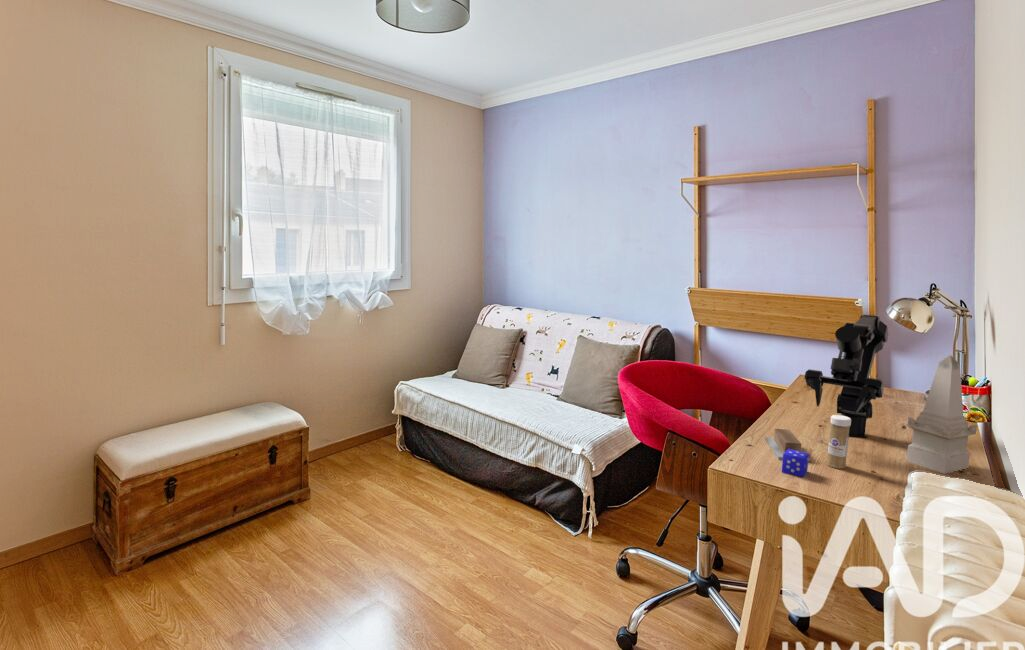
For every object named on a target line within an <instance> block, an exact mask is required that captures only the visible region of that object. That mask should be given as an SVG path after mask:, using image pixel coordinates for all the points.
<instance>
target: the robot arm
mask: <svg viewBox="0 0 1025 650" xmlns="http://www.w3.org/2000/svg"><path fill="white" fill-rule="evenodd" d="M834 335H835V340H836V344H837V348H838V350H839V353H838V356H837V357H832V359H831V364H830V370H831V371H830V375H831V376H825V375H824V374H823V371H822V370H817V369H816V370H815V369H810V368H809V369H808V370H806V371H805V373H804V376H803V377H804V379H805V383H806V385H807V387H810V389H812V390H813V391H814V393H815V402H816V407H819V406H820V404H821V400H822V394H823V390H824V389H823V386H824V384H829V385H833V386H834V385H835V386H841V387H842V389H841V391H840V393H839V394H838V395H837V398H836V414H840V415H842V416H846V417H849V418H850V419H851V426H850V428H849V437H855V438H857V437H858V438H868V435H867V434H866V427H867V419H872V418H873V410H874V409H873V404H872V401H871V400H876V399H877V398H879V399H881V398H883V395H884V390H885V389H884V382H883V381H882V379H878V378H872V377H870V375H871V371H872V368H873V364H874V360H875V356H876V354H877V353H878V352H880V351H882V350H883V349H884V346H885V343H887V342H888V338H889V329H888V326H887V325H886V324H885V323H884V322H883V321H882V320H881V317H880V316H878V315H871V314H863V315H862V314H861V315H860V316H859V319H858V320H856V321H855V322H854V323H853V322H846V323H845V324H844V325H843V326H840V327H838V329H836V330H835V333H834Z"/></svg>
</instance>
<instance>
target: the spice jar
mask: <svg viewBox="0 0 1025 650" xmlns="http://www.w3.org/2000/svg"><path fill="white" fill-rule="evenodd" d="M850 426H851V419H850V418H849V417H846V416H842V415H841V414H833V415H831V416H830V430H829V431H830V432H829V440H828V446H827V447H828V448H827V460H826V465H828V466H829V467H831V468H832V469H833V468H834V469H840V470H842V469H843V470H844V469H845V468H847V464H846V463H847V456H848V450H849V439H850V436H849V428H850Z"/></svg>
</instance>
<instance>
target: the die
mask: <svg viewBox="0 0 1025 650" xmlns="http://www.w3.org/2000/svg"><path fill="white" fill-rule="evenodd" d="M808 458H810V453H808V452H805V451H804V452H800V451H796V450H791V449H787V451H786V452H785V453H784V454H783V460H782V464H781V473H783V474H788V475H791V476H795V477H798V478H799V477H800V478H804V476H805V475H806V474H807V472H808V467H809V466H808V465H809V462H808Z"/></svg>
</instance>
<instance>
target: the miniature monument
mask: <svg viewBox="0 0 1025 650" xmlns="http://www.w3.org/2000/svg"><path fill="white" fill-rule="evenodd" d="M962 390H963V389H962V376H961V364H960V362H958V360H957V359H955V358H954V357H953V356H952V355H951V354H949V355H948V356H946V357H945V358H944V359H942V360H940V361H939V362H938V364H937V366H936V371H935V373H934V376H933V379H932V382H931V386H930V389H929V392H928V395H927V398H926V402H925V405H924V406H923V407H924V408H923V410H922V411H921V412H919V413H918V416H917V417H916V418H915V419H914V418H912V417H910V416H909V417H908V418H907V427H908V428H910V429H912V430H913V433H912V439H911V440H912V441H911V443H910V444H908V445H907V452H906V459H905V460H906V461H907V462H910V463H913V464H916V465H918V466H920V467H924V468H927V469H930V470H932V471H935V472H938V473H941V474H944V475H945V474H951V473H954V472H953V471H956V472H959V471H958V470H960V469H963V468H967V467H968V468H969V463H970V462H969V461H970V457H971V456H970V455H971V453H970V452H969V451H968V450H967V449H968V441H969V437H970V436H974V435H976V434H977V433H976V432H977V428H978V425H977V424H971V425H969V422H968V421H967V420H968V419H967V417H966V416H964V404H963V394H962V393H963V391H962ZM960 471H961V470H960Z"/></svg>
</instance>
